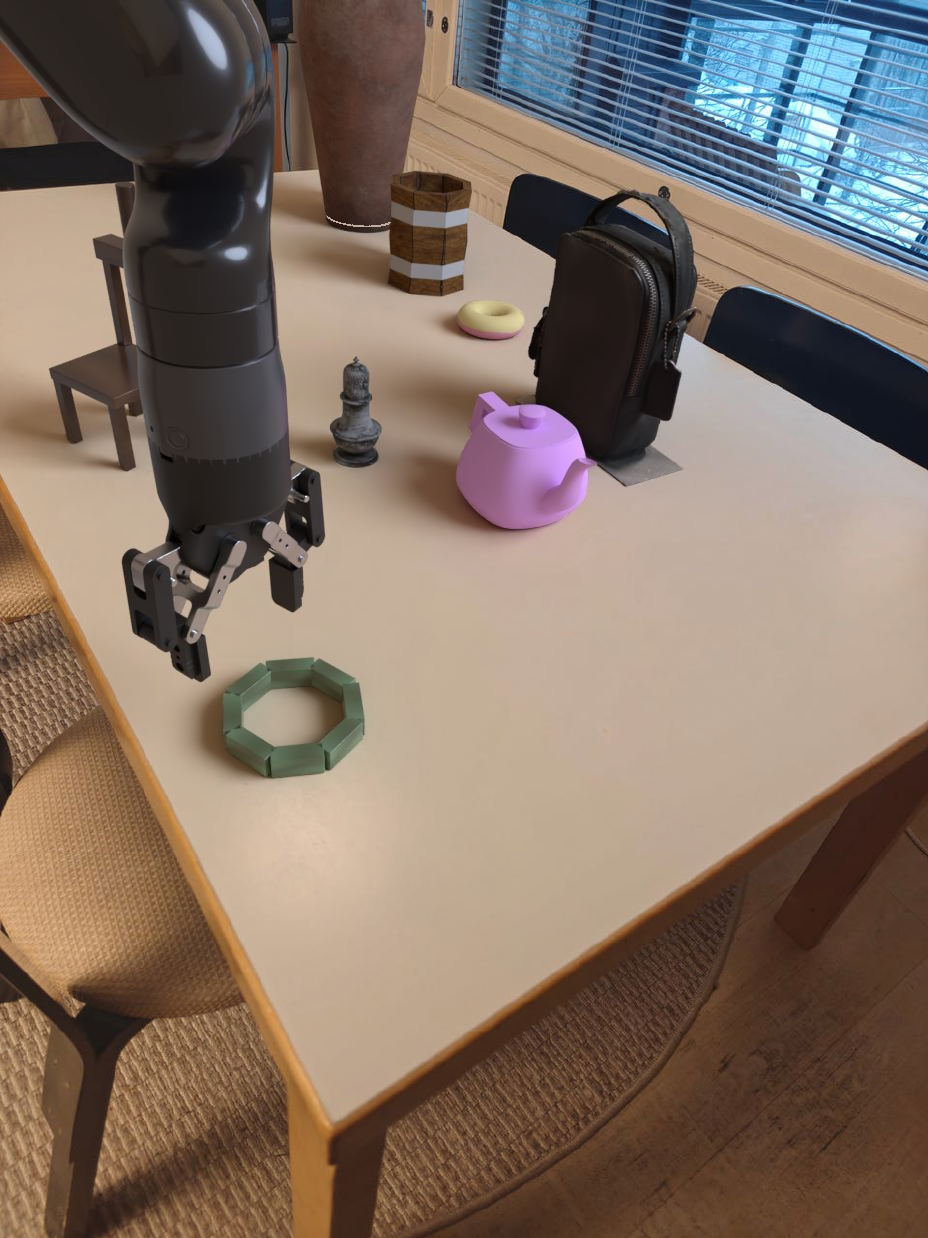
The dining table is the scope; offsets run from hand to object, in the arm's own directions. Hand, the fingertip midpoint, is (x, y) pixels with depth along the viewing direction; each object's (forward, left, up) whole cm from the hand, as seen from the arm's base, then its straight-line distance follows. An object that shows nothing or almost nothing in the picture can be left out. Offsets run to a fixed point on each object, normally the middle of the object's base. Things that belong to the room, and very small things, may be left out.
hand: (243, 638), depth 57 cm
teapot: (+43, +2, -12) cm, 45 cm away
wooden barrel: (+92, +51, -12) cm, 106 cm away
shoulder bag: (+63, +3, -12) cm, 64 cm away
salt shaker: (+39, +22, -12) cm, 47 cm away
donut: (+81, +30, -12) cm, 87 cm away
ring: (+4, 0, -12) cm, 13 cm away
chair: (+25, +43, -12) cm, 51 cm away
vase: (+108, +77, -12) cm, 133 cm away
